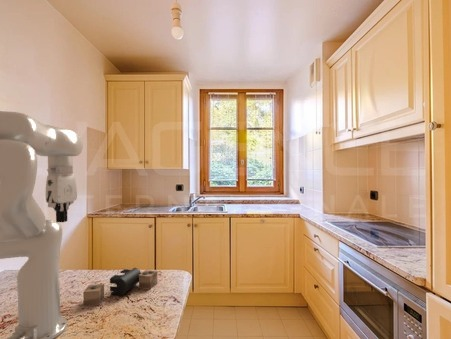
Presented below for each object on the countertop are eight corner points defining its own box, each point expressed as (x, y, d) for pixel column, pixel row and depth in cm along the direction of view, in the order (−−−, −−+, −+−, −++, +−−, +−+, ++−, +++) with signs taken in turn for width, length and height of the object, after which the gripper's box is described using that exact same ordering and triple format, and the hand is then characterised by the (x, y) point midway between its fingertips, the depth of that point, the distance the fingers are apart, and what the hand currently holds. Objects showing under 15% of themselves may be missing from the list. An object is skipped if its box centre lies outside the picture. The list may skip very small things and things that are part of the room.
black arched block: (126, 297, 90) (125, 278, 90) (109, 295, 92) (108, 277, 92) (142, 285, 100) (141, 268, 100) (126, 283, 102) (126, 266, 102)
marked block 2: (150, 289, 96) (150, 275, 96) (139, 288, 98) (138, 274, 98) (157, 283, 101) (157, 270, 101) (146, 282, 102) (146, 269, 102)
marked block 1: (99, 305, 86) (99, 289, 86) (83, 306, 85) (83, 291, 85) (104, 297, 91) (103, 283, 91) (89, 299, 90) (88, 284, 90)
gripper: (53, 171, 84) (54, 226, 84) (84, 170, 99) (85, 217, 99) (33, 171, 85) (34, 226, 85) (66, 171, 100) (67, 217, 100)
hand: (61, 221), depth 92 cm, fingers closed
